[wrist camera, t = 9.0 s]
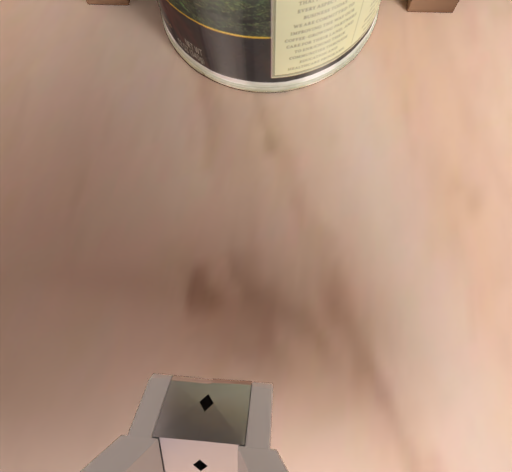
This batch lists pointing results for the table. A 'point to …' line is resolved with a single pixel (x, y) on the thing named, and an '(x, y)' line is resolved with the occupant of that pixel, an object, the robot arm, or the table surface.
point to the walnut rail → (415, 3)
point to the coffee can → (268, 39)
